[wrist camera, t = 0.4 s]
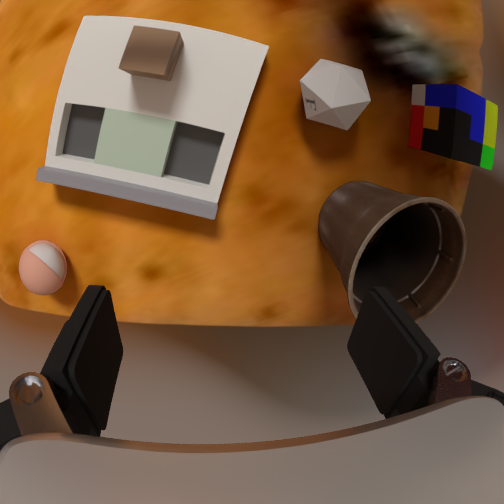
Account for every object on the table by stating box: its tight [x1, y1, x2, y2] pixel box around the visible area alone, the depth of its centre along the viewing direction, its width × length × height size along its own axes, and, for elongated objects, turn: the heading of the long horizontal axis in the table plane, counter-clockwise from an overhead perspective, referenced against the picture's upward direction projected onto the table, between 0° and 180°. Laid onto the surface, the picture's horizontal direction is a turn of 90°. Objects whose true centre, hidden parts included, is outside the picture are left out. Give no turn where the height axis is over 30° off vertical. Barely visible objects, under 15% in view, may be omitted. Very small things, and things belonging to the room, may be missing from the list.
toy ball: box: [19, 240, 67, 295], centre depth 34 cm, size 8×8×8 cm
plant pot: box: [319, 181, 466, 323], centre depth 35 cm, size 16×16×16 cm
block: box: [119, 26, 184, 81], centre depth 24 cm, size 5×5×5 cm
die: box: [300, 59, 371, 131], centre depth 30 cm, size 8×9×10 cm
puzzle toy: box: [408, 84, 498, 170], centre depth 32 cm, size 10×10×10 cm
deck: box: [36, 16, 269, 220], centre depth 29 cm, size 22×24×4 cm
